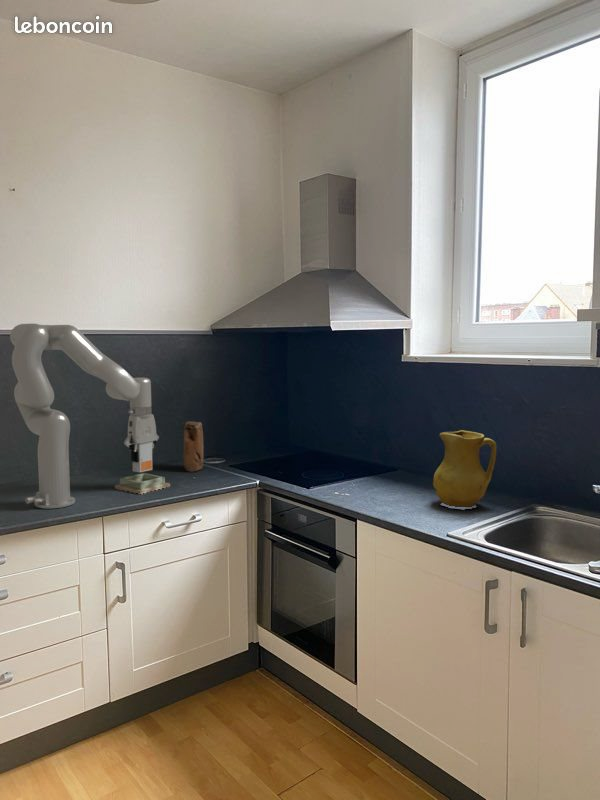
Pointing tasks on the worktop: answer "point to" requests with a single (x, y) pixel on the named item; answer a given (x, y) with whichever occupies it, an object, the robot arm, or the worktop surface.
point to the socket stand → (142, 483)
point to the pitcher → (463, 469)
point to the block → (193, 446)
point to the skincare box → (143, 458)
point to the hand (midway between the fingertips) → (142, 459)
